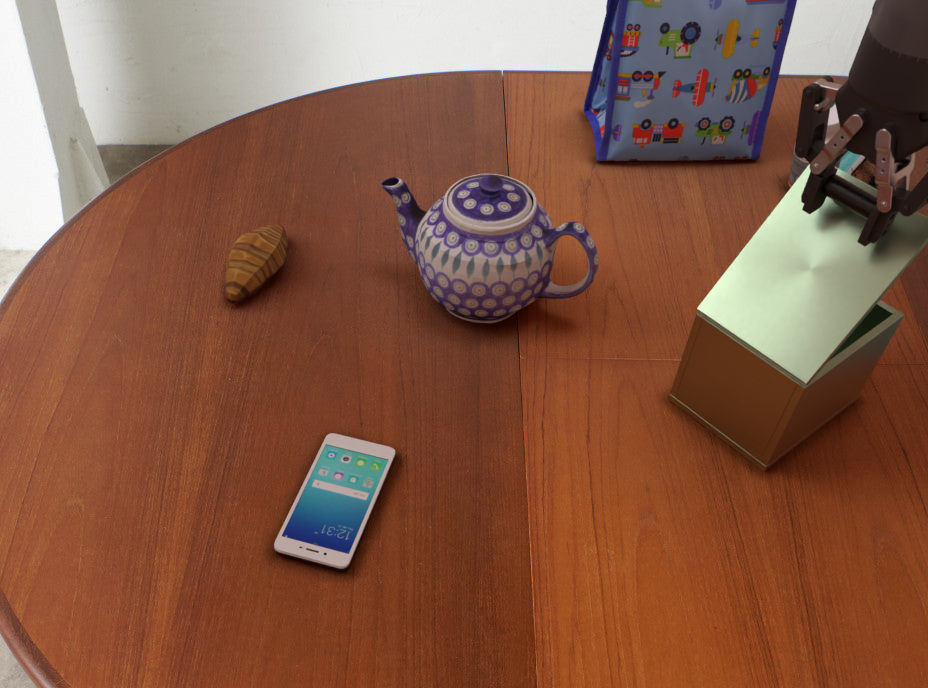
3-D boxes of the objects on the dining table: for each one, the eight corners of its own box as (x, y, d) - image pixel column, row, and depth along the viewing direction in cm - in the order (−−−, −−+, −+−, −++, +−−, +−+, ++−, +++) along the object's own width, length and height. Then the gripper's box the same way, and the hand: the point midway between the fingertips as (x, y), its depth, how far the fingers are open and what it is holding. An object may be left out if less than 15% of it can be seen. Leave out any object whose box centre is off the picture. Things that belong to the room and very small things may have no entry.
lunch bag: (733, 108, 133) (804, -125, 109) (758, 164, 124) (841, -75, 101) (580, 110, 132) (619, -124, 108) (596, 167, 123) (642, -74, 100)
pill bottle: (821, 167, 123) (837, 95, 115) (842, 191, 119) (860, 119, 112) (779, 178, 123) (792, 107, 115) (799, 202, 119) (814, 131, 112)
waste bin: (761, 335, 105) (797, 248, 95) (856, 400, 99) (905, 314, 90) (667, 399, 99) (696, 313, 89) (763, 471, 93) (805, 388, 84)
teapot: (607, 288, 109) (633, 174, 97) (558, 371, 101) (580, 258, 89) (414, 224, 116) (416, 110, 104) (353, 298, 107) (348, 183, 95)
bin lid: (817, 159, 85) (807, 136, 81) (940, 227, 79) (937, 207, 75) (698, 310, 89) (684, 296, 85) (807, 385, 84) (798, 374, 79)
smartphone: (398, 448, 93) (347, 569, 84) (398, 453, 94) (348, 574, 85) (327, 430, 94) (270, 548, 85) (328, 436, 95) (271, 553, 86)
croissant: (261, 315, 105) (255, 280, 101) (206, 301, 107) (199, 266, 103) (308, 243, 113) (304, 208, 109) (256, 231, 114) (251, 196, 110)
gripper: (1046, 50, 65) (937, 248, 79) (870, -26, 72) (797, 169, 86) (986, 88, 63) (884, 286, 76) (809, 6, 69) (744, 202, 83)
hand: (839, 223), depth 81 cm, fingers closed on bin lid, 5 cm apart
